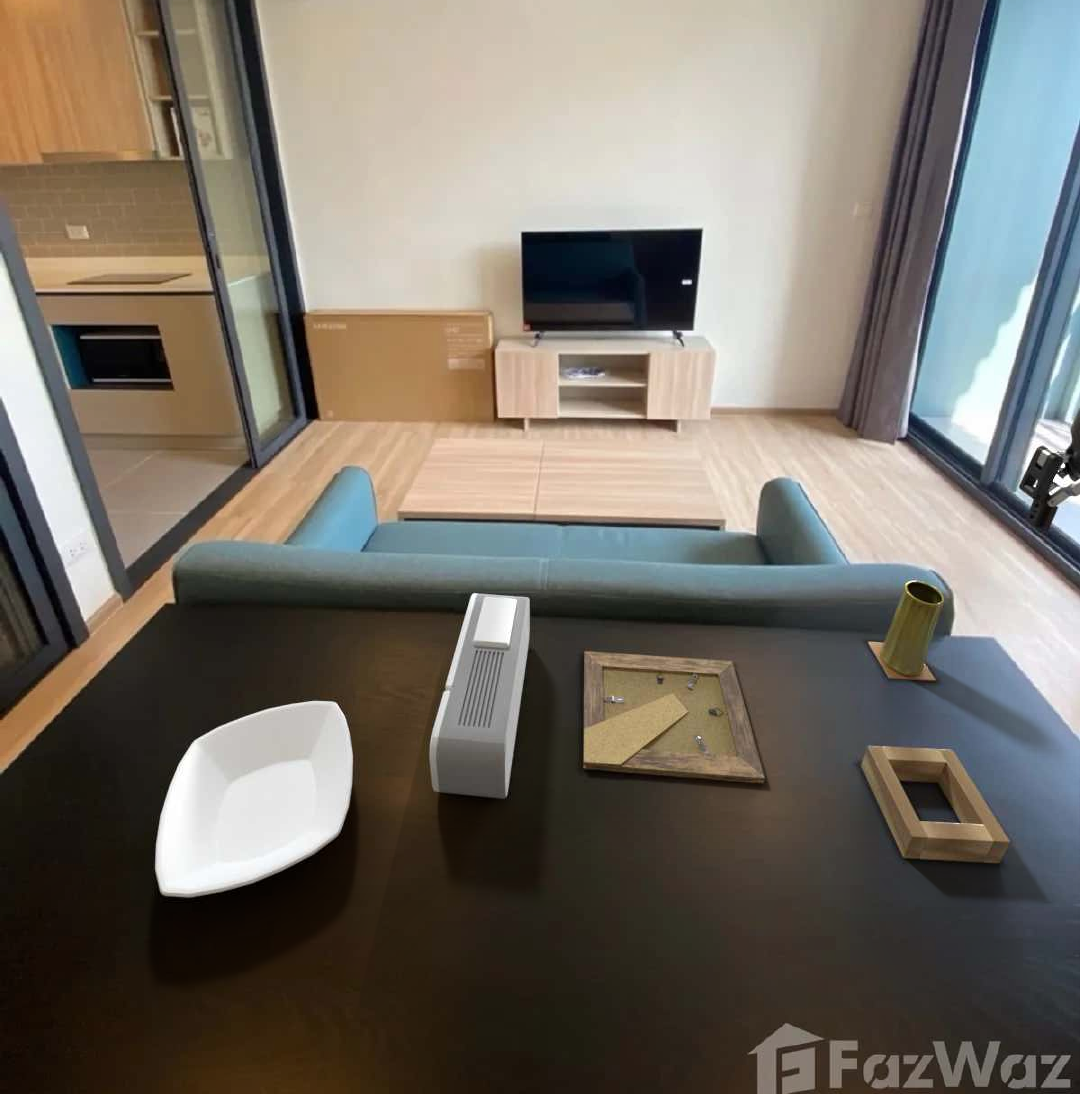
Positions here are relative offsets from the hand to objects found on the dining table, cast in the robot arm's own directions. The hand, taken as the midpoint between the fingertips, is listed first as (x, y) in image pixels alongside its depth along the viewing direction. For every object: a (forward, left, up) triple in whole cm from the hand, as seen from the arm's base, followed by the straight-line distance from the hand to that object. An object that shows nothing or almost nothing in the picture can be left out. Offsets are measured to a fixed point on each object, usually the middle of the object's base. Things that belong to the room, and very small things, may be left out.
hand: (1074, 529), depth 69 cm
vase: (+5, -12, -36) cm, 38 cm away
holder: (+14, +11, -36) cm, 40 cm away
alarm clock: (+71, 0, -36) cm, 80 cm away
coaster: (+5, -12, -36) cm, 39 cm away
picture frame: (+45, -1, -36) cm, 58 cm away
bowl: (+97, +15, -36) cm, 105 cm away
